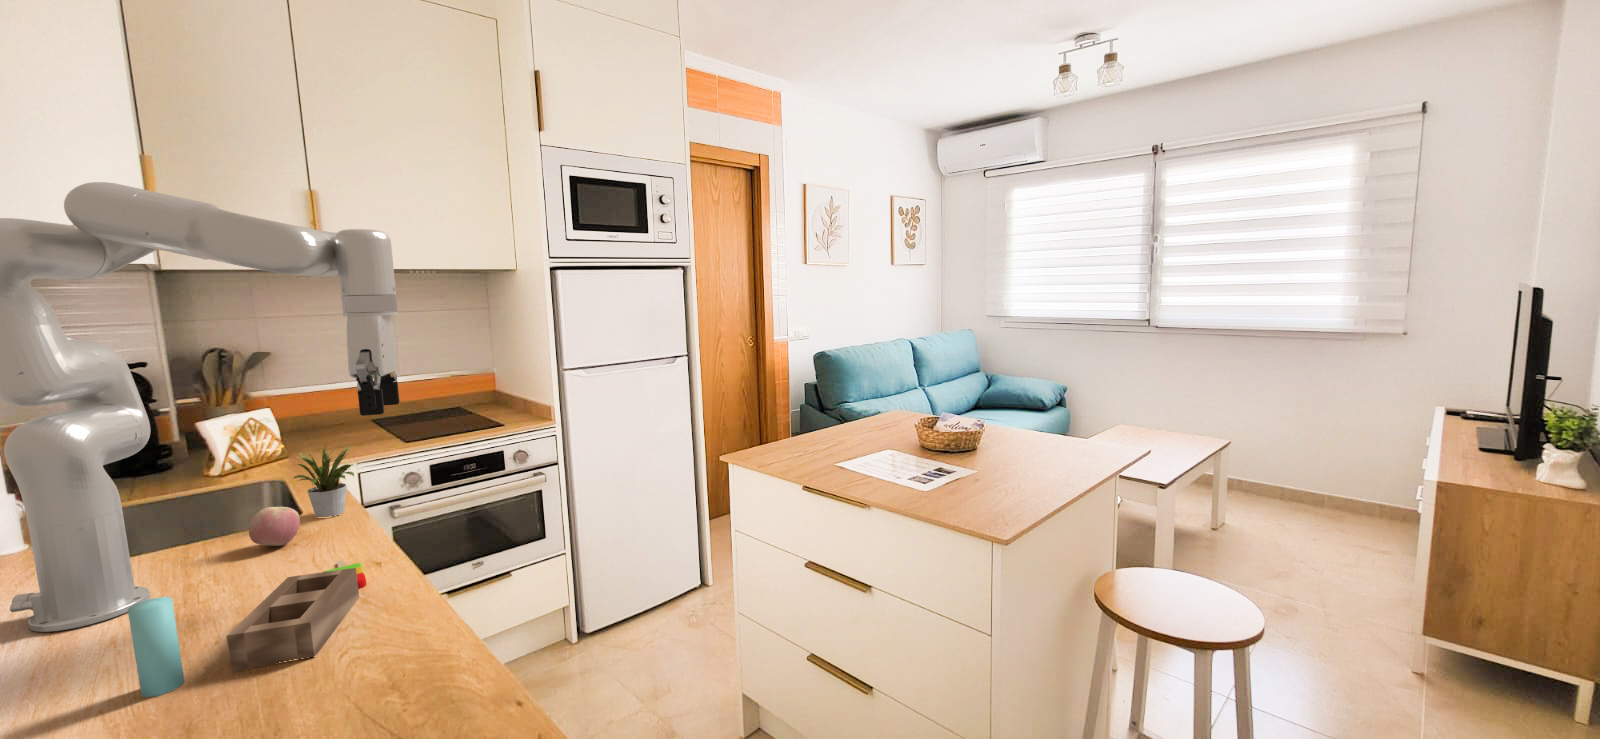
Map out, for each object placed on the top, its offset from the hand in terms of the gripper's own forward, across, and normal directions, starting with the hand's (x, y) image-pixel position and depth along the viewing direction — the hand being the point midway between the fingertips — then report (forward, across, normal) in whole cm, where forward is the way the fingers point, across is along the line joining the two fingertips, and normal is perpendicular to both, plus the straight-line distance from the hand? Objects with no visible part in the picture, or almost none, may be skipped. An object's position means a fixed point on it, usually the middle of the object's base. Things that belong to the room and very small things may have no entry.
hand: (381, 409), depth 105 cm
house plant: (+30, -42, -24) cm, 56 cm away
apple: (+30, -25, -26) cm, 47 cm away
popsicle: (+30, -4, -9) cm, 32 cm away
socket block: (+29, +15, -9) cm, 34 cm away
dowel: (+29, +25, -20) cm, 44 cm away
